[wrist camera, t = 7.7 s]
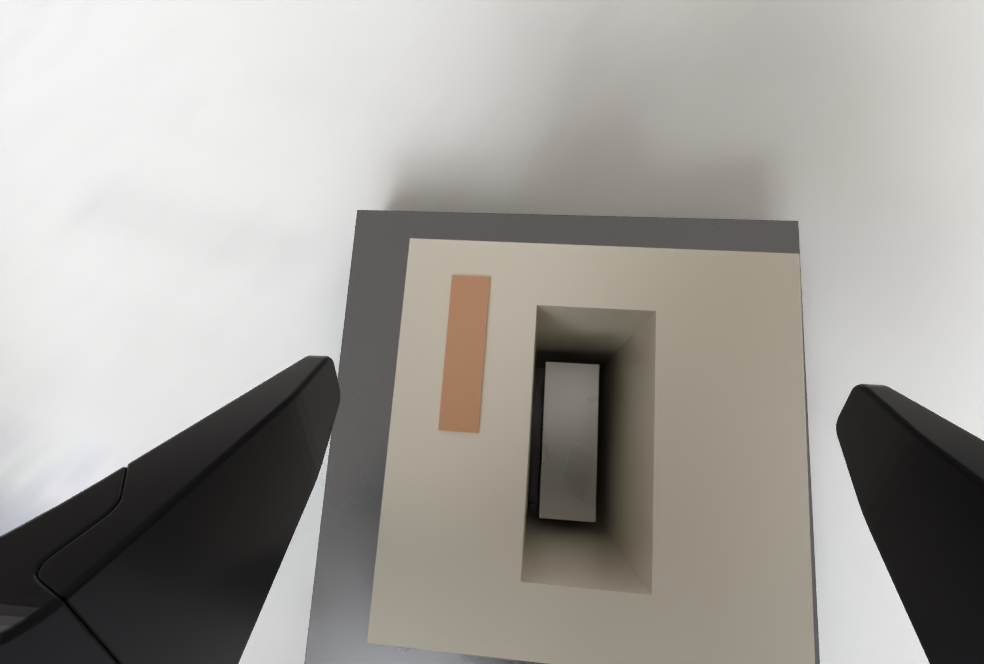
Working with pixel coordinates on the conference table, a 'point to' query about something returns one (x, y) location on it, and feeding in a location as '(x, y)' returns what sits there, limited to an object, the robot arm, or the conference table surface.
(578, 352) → the beige slotted holder
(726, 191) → the conference table surface
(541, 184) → the conference table surface
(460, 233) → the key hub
